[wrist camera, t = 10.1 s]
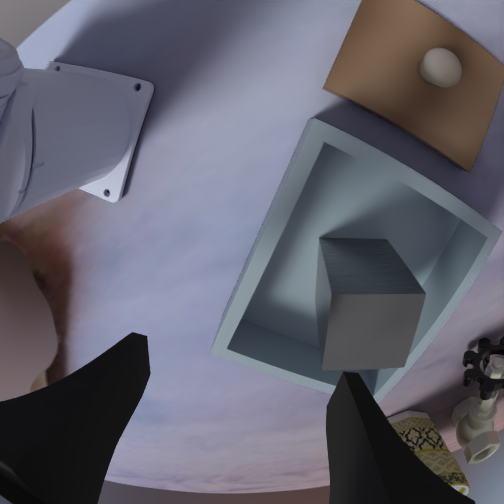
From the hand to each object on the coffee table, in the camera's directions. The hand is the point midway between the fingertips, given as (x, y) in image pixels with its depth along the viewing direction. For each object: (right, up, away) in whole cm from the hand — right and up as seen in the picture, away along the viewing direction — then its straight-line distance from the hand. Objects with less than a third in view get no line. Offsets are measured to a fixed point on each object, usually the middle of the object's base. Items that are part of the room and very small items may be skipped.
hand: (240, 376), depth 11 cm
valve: (+22, -8, +12) cm, 26 cm away
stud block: (+10, +15, +3) cm, 18 cm away
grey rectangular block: (+6, +3, +8) cm, 11 cm away
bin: (+6, +4, +9) cm, 11 cm away
